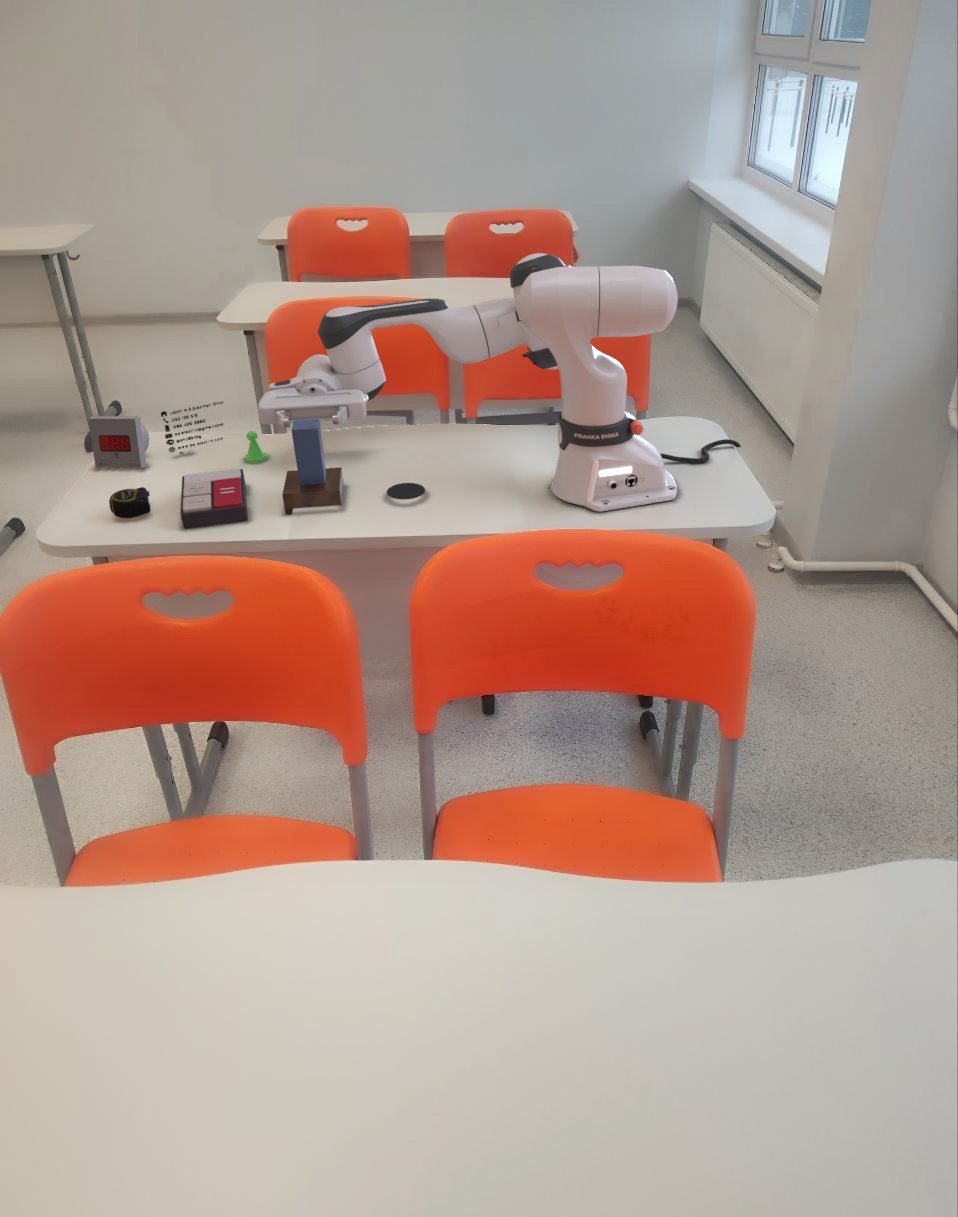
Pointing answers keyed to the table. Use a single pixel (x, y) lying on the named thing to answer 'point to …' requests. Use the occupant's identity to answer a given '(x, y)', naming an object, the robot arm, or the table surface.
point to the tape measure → (130, 503)
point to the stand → (313, 491)
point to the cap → (405, 491)
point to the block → (309, 451)
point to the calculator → (213, 498)
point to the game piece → (254, 449)
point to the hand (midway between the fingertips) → (310, 422)
